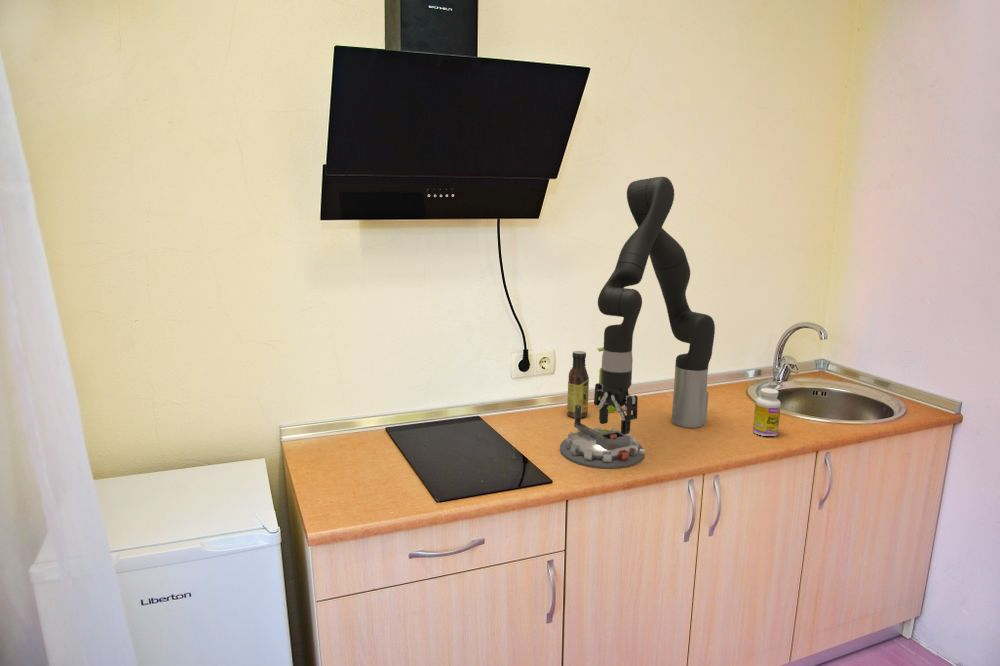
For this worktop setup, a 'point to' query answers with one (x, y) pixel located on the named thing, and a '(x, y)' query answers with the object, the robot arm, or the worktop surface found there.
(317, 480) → the worktop surface
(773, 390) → the supplement bottle
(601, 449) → the sprocket
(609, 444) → the chain link
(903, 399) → the worktop surface
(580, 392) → the sauce bottle
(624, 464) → the sprocket base
